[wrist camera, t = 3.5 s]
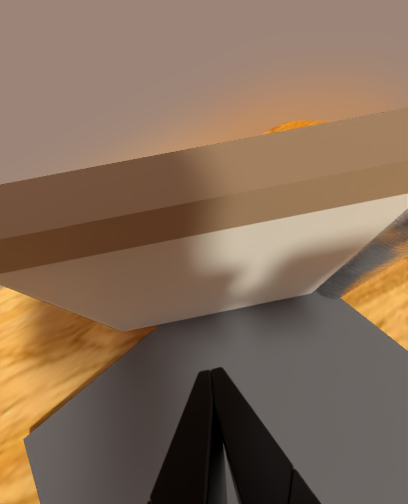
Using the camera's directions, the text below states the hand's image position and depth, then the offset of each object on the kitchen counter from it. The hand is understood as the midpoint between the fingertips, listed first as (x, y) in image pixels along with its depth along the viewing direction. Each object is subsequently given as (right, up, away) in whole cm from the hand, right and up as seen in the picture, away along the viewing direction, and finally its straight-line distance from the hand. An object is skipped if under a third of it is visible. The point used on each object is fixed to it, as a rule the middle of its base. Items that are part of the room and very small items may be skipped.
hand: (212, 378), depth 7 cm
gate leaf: (+1, +1, +7) cm, 7 cm away
